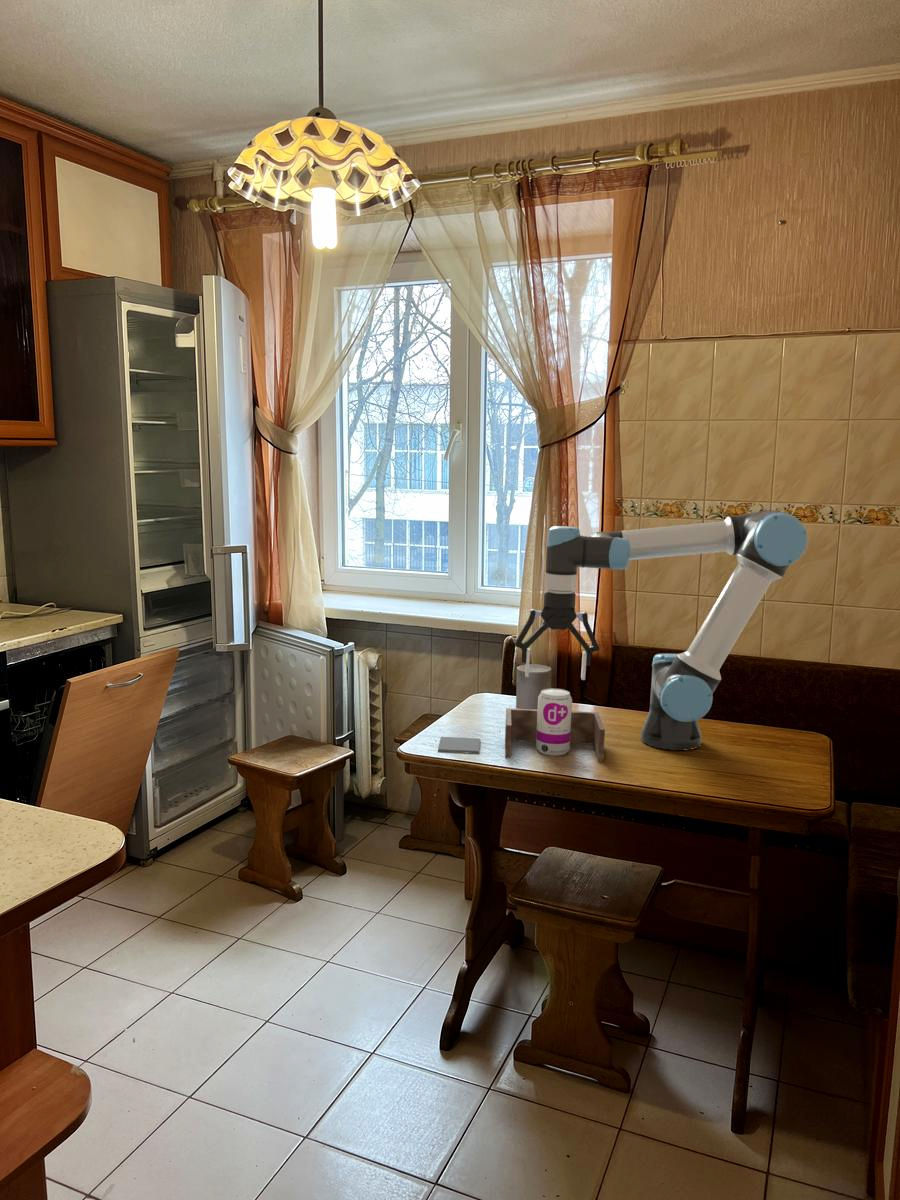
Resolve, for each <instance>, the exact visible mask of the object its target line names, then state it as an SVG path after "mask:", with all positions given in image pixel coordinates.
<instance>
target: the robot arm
mask: <svg viewBox="0 0 900 1200" xmlns="http://www.w3.org/2000/svg"><path fill="white" fill-rule="evenodd" d="M806 530H807V529H806V528H805V526H804V524H803V523H802V521H800V520H799V518H797V517H795V516H793V515H792V514H790V513H787V512H784V511H775V510H771V509H768V510H766V509H764V510H758V511H755V512H750V513H745V514H741V515H740V514H739V515H730V516H726V518H725V519H724V520H722V521H710V522H702V523H689V524H682V525H681V524H680V525H669V526H657V527H649V528H640V529H639V528H638V529H628V530H626V529H625V530H621V531H607V532H606V531H598V532H594V533H593V534H591V535H590V536H586V535H581V533H580V528H578V527H576V526H565V525H562V526H561V525H555V526H552V527H550V528H549V529H548V532H547V541H546V552H545V553H546V555H545V556H546V557H545V575H544V576H545V577H544V589H545V591H544V593H543V608H542V610H536V609H534V608H531V609H530V611H529V617H528V618H527V620H526V622H525V624H524V625H523V627H522V629H521V630H520V632H519V634H518V636H517V637H516V639H515V641H514V646H515V648H518V649H520V650H521V657H520V658H521V659H520V660H521V663H523V664H524V663H525V665H526V669H525V677H529V664H530V660H531V659H530V657H531V654H530V653H531V648H530V647H531V645H532V644H533V643H534V642H535V641H536V640H537V639H538V638H539V637H540V636H541V635H542V634H543V633H544V632H545V631H546V630H547V629H548V628H549V629H550V630H555V631H556V630H560V631H565V630H567V629H568V630H569V631H570V632H571V633H572V635H573V636H574V637H575V639H576V640H577V642H578V643H579V644H580V645H581V646H582V648H583V649H584V650H583V651H582V657H581V671H580V678H581V680H582V681H585V680H586V671H587V667H590V666H591V664H592V663H591V661H592V653H594V652H598V651H599V650H600V647H599V645H598V642H597V640H596V638H595V635H594V633H593V630H592V628H591V626H590V623H589V615H588V612H587V611H582V612H576V608H575V607H576V595H577V594H576V593H575V591H576V590H577V579H578V568H589V569H605V570H612V571H615V570H626V569H628V567H629V564H630V561H633V560H645V559H647V560H648V559H656V558H657V559H658V558H668V557H679V556H682V557H683V556H690V555H691V556H692V555H693V556H694V555H704V554H705V555H706V554H714V553H725V552H726V553H727V554H728V555H729V556H736V560H737V565H736V567H735V569H734V571H732V573H731V575H730V577H729V579H727V581H726V582H727V583H726V584H725V586H724V587H723V589H722V590H721V593H720V594H719V595H718V598H717V599H716V601H715V602H714V605H713V606H712V608H711V609H710V611H709V613H708V614H707V616H706V618H705V620H704V621H703V623H702V625H701V626H700V628H699V630H698V632H697V633H696V634H695V636H694V638H693V640H692V642H691V643H690V645H689V647H688V648H687V650H685V651H684V652H681V653H657V654H655V655H654V656H653V659H652V663H651V669H652V670H651V684H650V685H651V686H650V687H651V688H650V697H649V698H650V699H649V700H650V702H649V711H648V712H647V713H648V714H647V716H646V718H645V720H644V721H645V722H644V723H643V725H642V728H641V732H640V740H641V741H643V742H642V743H643V744H645V743H646V745H647V744H648V745H647V746H650V747H652V746H654V747H653V748H656V747H658V748H657V749H660V748H663V749H662V750H666V749H671V750H670V751H676V750H684V749H691V748H695V747H698V746H699V745H700V744H701V745H702V732H701V729H700V726H699V722H698V720H700V719H702V718H703V717H705V716H706V715H707V714H708V713H709V712H710V709H711V707H712V704H713V700H714V698H713V697H714V696H713V693H714V692H715V691H716V690H717V687H718V685H719V684H720V682H721V680H722V676H721V673H720V669H721V668H722V666H723V664H724V663H725V661H726V659H727V657H728V655H730V653H731V651H732V649H733V647H734V646H735V644H736V643H737V641H738V639H739V638H740V635H741V634H742V632H743V631H744V629H745V628H746V626H747V624H748V622H749V621H750V619H751V617H752V615H753V614H754V613H755V611H756V609H757V607H758V605H759V604H760V602H761V600H762V599H763V597H764V596H765V594H766V592H767V591H768V589H769V587H770V586H771V583H773V582H774V581H777V580H780V579H783V577H784V575H785V574H786V572H787V570H789V569H788V568H789V567H790V565H792V564H794V563H795V562H797V561H798V560H800V558H801V557H802V556H803V555H804V554H805V551H806V549H807V547H808V534H807V531H806ZM539 617H541V618H542V620H543V622H542V623H541V624H540V626H538V628H537V629H535V630H534V631H533V633H532V634H531V635H530V636H529V637H528V638H527V639H526V640H525V641H524V639H525V638H526V636H527V634H528V632H529V631H530V629H531V627H532V625H533V624H534V622H535V620H538V619H539ZM576 618H578V620H579V622H582V625H583V627H584V629H585V631H586V633H587V636H588V639H589V640H590V642H591V646H590V645H589V643H587V641H586V640H585V639H584V637H583V636H582V635H581V634H580V632H579V631H578V630H577V628H576V627H575V626H574V624H573V623H574V621H575V620H576ZM523 641H524V642H523Z"/></svg>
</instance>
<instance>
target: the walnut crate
mask: <svg viewBox="0 0 900 1200" xmlns="http://www.w3.org/2000/svg"><path fill="white" fill-rule="evenodd" d="M505 709H506V710H505V726H504V727H505V730H504V758H507V757H510V758H511V743H512V741H520V740H523V742H536V734H537V712H538V710H536V709H516V708H512V707H511V708H510V707H509V708H508V707H506V708H505ZM605 733H606V728H605V726H604V723H603V721H602V718H601V715H600V713H599V712H598V711H596V712H595V711H581V710H580V711H577V710H576V711H575V710H573V711H571V731H570V744H583V745H584V744H588V745H589V744H590V745H592V747H593V750H594V754H595V757H596V760H597V762H598V763H604V755H605V754H604V753H605V738H606V737H605V736H606V735H605Z"/></svg>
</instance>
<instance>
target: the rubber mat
mask: <svg viewBox="0 0 900 1200" xmlns="http://www.w3.org/2000/svg"><path fill="white" fill-rule="evenodd" d="M480 746H481V738H479V737H478V738H477V737H459V736H458V737H457V736H456V737H455V736H441V737H440V738H439V744H438V749H437V751H438V752H441V753H459V752H468V753H467V754H480V749H479V748H480Z"/></svg>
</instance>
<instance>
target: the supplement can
mask: <svg viewBox="0 0 900 1200" xmlns="http://www.w3.org/2000/svg"><path fill="white" fill-rule="evenodd" d="M572 706H573V698H572V696H571V693H570V691H568V690H565V689H564V688H563V689H562V688H551V689H544V690H542V691H541V693H540V695H539V697H538V712H537V734H536V741H535V749H536V750H537V751H538V752H539V753H540V754H543V755H545V756H546V755H547V756H551V757H553V756H564V755H566V754H567V753H568V752H569V751H570V748H571V745H570V744H571V743H570V731H571V711H572V708H573V707H572Z"/></svg>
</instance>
